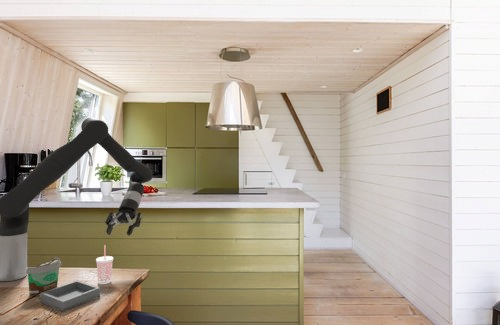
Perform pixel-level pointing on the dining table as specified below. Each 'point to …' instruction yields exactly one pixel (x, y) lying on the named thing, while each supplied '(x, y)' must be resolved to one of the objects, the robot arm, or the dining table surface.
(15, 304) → the dining table surface
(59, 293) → the tray
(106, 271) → the beverage cup
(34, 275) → the food container
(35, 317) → the dining table surface
